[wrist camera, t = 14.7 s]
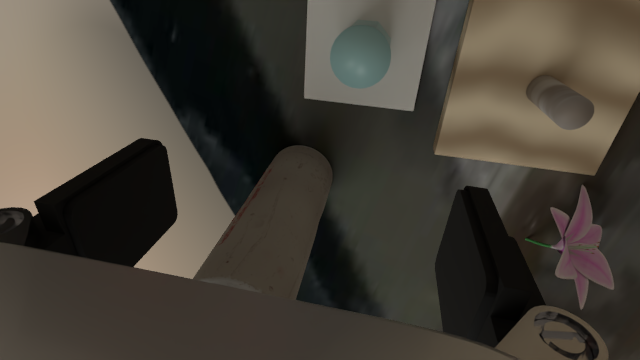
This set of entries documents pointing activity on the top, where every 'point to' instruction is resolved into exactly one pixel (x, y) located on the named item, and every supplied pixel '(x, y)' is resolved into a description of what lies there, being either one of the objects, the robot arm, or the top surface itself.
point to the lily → (580, 248)
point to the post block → (541, 82)
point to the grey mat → (406, 48)
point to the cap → (361, 54)
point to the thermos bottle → (273, 227)
